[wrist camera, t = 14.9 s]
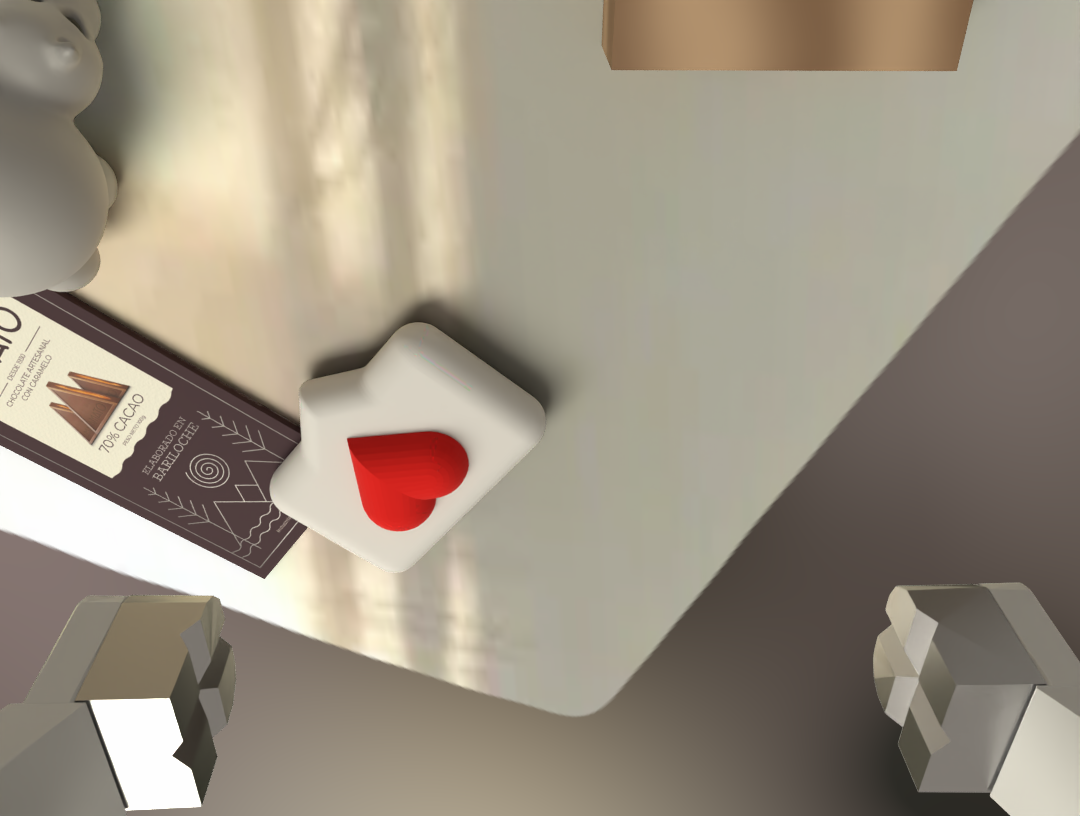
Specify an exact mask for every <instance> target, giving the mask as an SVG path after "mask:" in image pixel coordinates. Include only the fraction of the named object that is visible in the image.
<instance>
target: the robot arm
mask: <svg viewBox="0 0 1080 816" xmlns="http://www.w3.org/2000/svg"><path fill="white" fill-rule="evenodd" d="M885 610H886V612H887V614H888V616H889V618H890V621H891V623H892V625H891V626H889V627H888V628H887V629H886V630H885V631H883V632H882V633H881V634H880V635H879V636H878V638H877V642H876V646H875V651H874V655H873V663H874V664H873V665H874V681H875V685H876V689H877V694H878V697H879V699H880V702H881V704H882V707H883V709H884V712H885V713H886V714H887V715H888V716H889V717H891V718H892V719H893V720H894V721H896V722H897V723H898V724H900V725H901V726H902V727H903V729H902V732H901V735H900V739H899V742H898V746H899V748H900V750H901V753H902V755H903V757H904V760H905V762H906V764H907V767H908V769H909V771H910V774H911V776H912V778H913V781H914V783H915V785H916V788H917V790H918V792H989V793H991V794H990V797H991V798H993V799H994V800H995V801H996V802H997V803H998V804H999V805H1000V806H1001V807H1002V808H1003V809H1004V810H1005V811H1006V812H1007V813H1008V814H1010V815H1011V816H1080V662H1079V661H1078V659H1077V658H1076V656H1075V655H1074V653H1073V652H1072V650H1071V649H1070V648H1069V646H1068V644H1067V643H1066V641H1065V640H1064V639H1063V637H1062V636H1061V634H1060V633H1059V631H1058V630H1057V628H1056V627H1055V625H1054V624H1053V622H1052V621H1051V619H1050V618H1049V617H1048V615H1047V614H1046V612H1045V611H1044V609H1043V608H1042V606H1041V605H1040V603H1039V602H1038V600H1037V599H1036V598H1035V596H1034V595H1033V593H1032V592H1031V590H1030V589H1029V588H1028V587H1026V586H1025V585H1023V584H1022V583H987V584H986V583H985V584H978V585H974V584H959V585H957V584H956V585H915V586H914V585H913V586H896V587H895V589H894V590H893V591H892V592H891V593H890V596H889V600H888V602H887V606H886V609H885ZM224 621H225V617H224V613H223V609H222V606H221V602H220V599H218V598H216V597H214V596H180V595H175V596H173V595H130V596H95V595H89V596H87V597H86V598H84V599H83V600H82V601H81V602H79V603H78V604H77V606H76V607H75V609H74V611H73V613H72V615H71V617H70V618H69V620H68V622H67V624H66V626H65V627H64V629H63V631H62V633H61V635H60V637H59V638H58V640H57V642H56V644H55V646H54V648H53V649H52V651H51V653H50V655H49V657H48V658H47V660H46V662H45V664H44V666H43V668H42V669H41V671H40V673H39V675H38V677H37V678H36V680H35V682H34V684H33V686H32V688H31V689H30V691H29V693H28V695H27V697H26V698H25V700H24V702H23V703H21V704H9V705H8V706H6V707H5V708H3V709H2V710H0V816H126V815H127V813H126V810H139V809H160V808H180V807H200V806H202V804H203V801H204V797H205V795H206V791H207V788H208V785H209V782H210V778H211V775H212V772H213V769H214V766H215V763H216V759H217V753H216V749H215V746H214V742H213V737H214V736H215V735H216V734H217V733H218V732H219V731H221V730H222V729H223V728H224V727H225V726H226V725H227V724H228V720H229V716H230V713H231V710H232V706H233V701H234V692H235V684H236V671H235V659H234V655H233V651H232V646H231V645H230V644H229V643H227V642H226V641H225V640H224V639H222V638H221V637H220V633H221V630H222V627H223V624H224Z"/></svg>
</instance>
